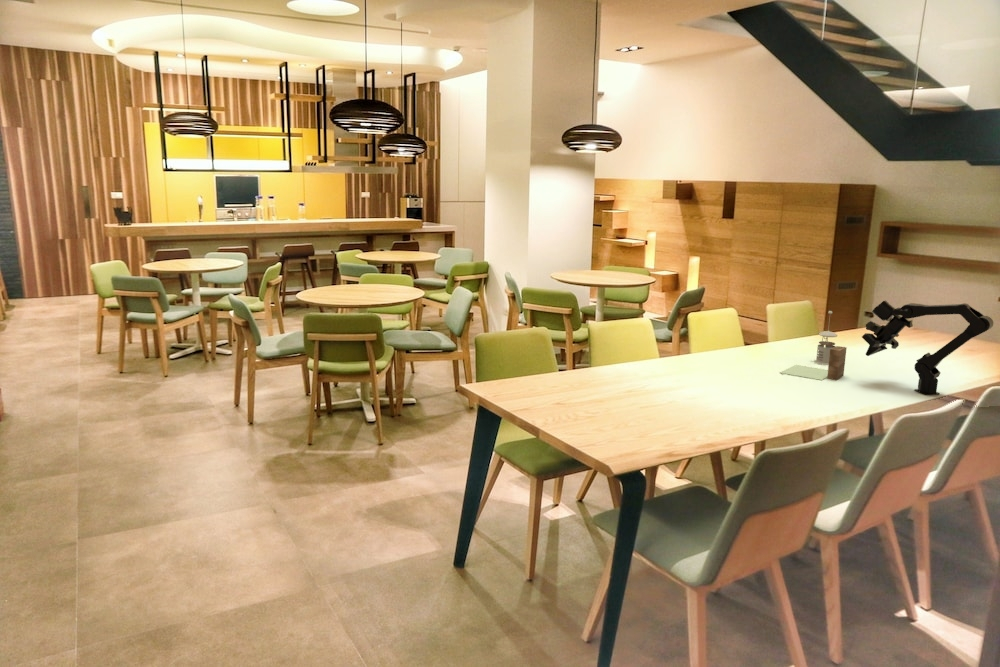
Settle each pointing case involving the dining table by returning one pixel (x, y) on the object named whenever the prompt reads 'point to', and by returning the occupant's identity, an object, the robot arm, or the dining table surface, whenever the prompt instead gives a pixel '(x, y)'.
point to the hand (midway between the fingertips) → (866, 355)
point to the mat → (806, 372)
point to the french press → (825, 351)
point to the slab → (836, 362)
